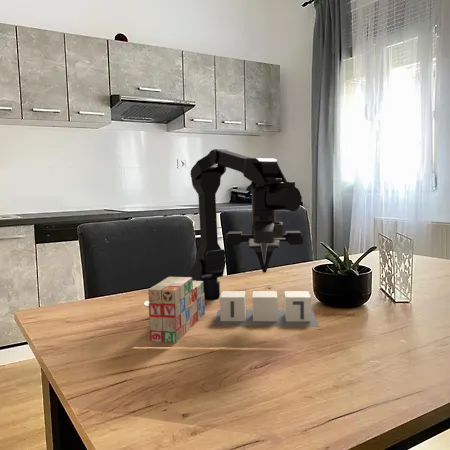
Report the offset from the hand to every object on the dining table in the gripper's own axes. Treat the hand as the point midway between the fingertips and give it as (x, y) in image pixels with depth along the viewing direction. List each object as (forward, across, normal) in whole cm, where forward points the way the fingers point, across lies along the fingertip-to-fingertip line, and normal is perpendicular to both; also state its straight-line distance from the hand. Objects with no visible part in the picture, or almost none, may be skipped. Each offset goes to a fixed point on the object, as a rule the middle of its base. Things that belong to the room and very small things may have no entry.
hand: (264, 272), depth 112 cm
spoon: (+12, -31, +20) cm, 39 cm away
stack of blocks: (+12, -20, -7) cm, 25 cm away
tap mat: (+12, 0, 0) cm, 12 cm away
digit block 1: (+12, -8, 0) cm, 14 cm away
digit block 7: (+12, +8, 0) cm, 14 cm away
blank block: (+12, 0, 0) cm, 12 cm away
